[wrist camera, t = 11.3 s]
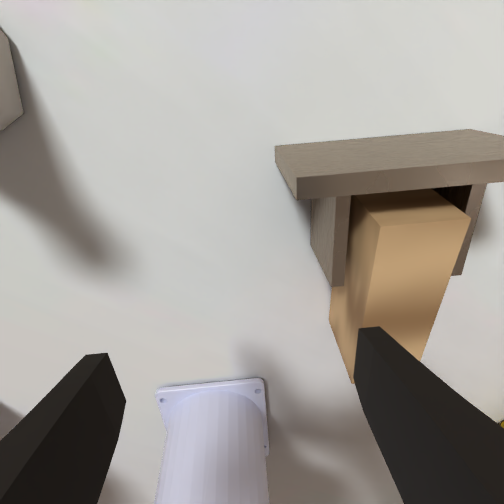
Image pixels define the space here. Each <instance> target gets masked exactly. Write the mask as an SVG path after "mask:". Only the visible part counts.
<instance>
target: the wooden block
mask: <svg viewBox="0 0 504 504" xmlns="http://www.w3.org/2000/svg"><path fill="white" fill-rule="evenodd" d="M470 221H471V218H470V217H469V216H468V215H466V214H465V213H463V212H462V211H461V210H459V209H458V208H457V207H455V206H454V205H453V204H451V203H450V202H449V201H447V200H446V199H445V198H443V197H442V196H441V195H439V194H438V193H436V192H435V191H434V190H432V189H431V188H427V189H416V190H405V191H394V192H383V193H372V194H361V195H351V201H350V214H349V227H348V240H347V253H346V266H345V279H344V286H339V287H332V292H331V302H330V313H329V322H330V325H331V328H332V331H333V333H334V336H335V339H336V342H337V344H338V347H339V350H340V353H341V355H342V358H343V361H344V364H345V367H346V369H347V372H348V375H349V378H350V380H351V383H352V384H355V382H354V379H353V374H354V365H355V356H356V347H357V338H358V329H359V328H367V327H377V326H380V327H381V328H382V329H383V330H384V331H386V332H387V333H388V334H389V335H390V336H391V337H392V338H394V339H395V340H396V341H397V342H398V343H399V344H400V345H401V346H403V347H404V348H405V349H406V350H407V351H408V352H409V353H411V354H412V355H413V356H414V357H415V358H416V359H417V360H419V361H420V360H421V357H422V354H423V351H424V349H425V346H426V343H427V340H428V338H429V335H430V332H431V329H432V326H433V324H434V321H435V318H436V315H437V313H438V310H439V307H440V304H441V301H442V299H443V296H444V293H445V290H446V288H447V285H448V282H449V279H450V277H451V274H452V271H453V268H454V265H455V263H456V260H457V257H458V254H459V252H460V249H461V246H462V243H463V240H464V238H465V235H466V232H467V229H468V227H469V224H470Z"/></svg>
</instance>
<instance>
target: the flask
mask: <svg viewBox="0 0 504 504" xmlns="http://www.w3.org/2000/svg"><path fill="white" fill-rule="evenodd" d="M22 114H24V113H23V108H22V103H21V98H20V94H19V89H18V84H17V79H16V74H15V70H14V65H13V60H12V55H11V51H10V46H9V41H8V38H7V37H6V36H5V34H4V33H3V32H2V31H1V30H0V132H1V131H2V130H3V129H5V128H6V127H7V126H8V125H10V124H11V123H12V122H13V121H15V120H16V119H17V118H19V117H20V116H21V115H22Z"/></svg>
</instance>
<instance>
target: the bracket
mask: <svg viewBox="0 0 504 504" xmlns="http://www.w3.org/2000/svg"><path fill="white" fill-rule="evenodd" d="M275 162H276V164H277V166H278V168H279V170H280V171H281V173H282V175H283V177H284V179H285V180H286V182H287V184H288V186H289V187H290V189H291V191H292V193H293V195H294V196H295V198H296V200H305V199H311V247H312V249H313V251H314V253H315V255H316V257H317V259H318V261H319V263H320V265H321V267H322V269H323V271H324V273H325V275H326V277H327V279H328V282H329V284H330V286H331V287H339V286H344V279H345V266H346V253H347V240H348V227H349V214H350V201H351V195H361V194H372V193H383V192H394V191H405V190H416V189H427V188H431V189H432V190H434V191H435V192H436V193H438V194H439V195H441V196H442V197H443V198H445V199H446V200H447V201H449V202H450V203H451V204H453V205H454V206H455V207H457V208H458V209H459V210H461V211H462V212H463V213H465V214H466V215H468V216H469V217H470V218H471V221H470V224H469V227H468V229H467V232H466V235H465V238H464V240H463V243H462V246H461V249H460V252H459V254H458V257H457V260H456V263H455V265H454V268H453V271H452V274H451V276H455V275H461V274H462V271H463V267H464V263H465V260H466V256H467V253H468V249H469V246H470V242H471V239H472V235H473V231H474V228H475V224H476V221H477V217H478V214H479V210H480V206H481V203H482V199H483V196H484V192H485V189H486V185H487V183H494V182H504V136H502V135H497V134H492V133H487V132H482V131H477V130H472V129H466V130H454V131H443V132H431V133H419V134H408V135H396V136H385V137H373V138H362V139H350V140H338V141H327V142H315V143H304V144H292V145H281V146H275Z"/></svg>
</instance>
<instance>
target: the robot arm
mask: <svg viewBox="0 0 504 504" xmlns="http://www.w3.org/2000/svg"><path fill="white" fill-rule="evenodd" d="M353 379H354V382H355V386H356V389H357V392H358V395H359V399H360V402H361V405H362V408H363V411H364V414H365V416H366V418H367V421H368V423H369V425H370V428H371V430H372V432H373V434H374V437H375V439H376V441H377V443H378V446H379V448H380V450H381V452H382V455H383V457H384V459H385V461H386V464H387V466H388V468H389V470H390V473H391V475H392V477H393V479H394V482H395V484H396V486H397V488H398V491H399V493H400V495H401V497H402V500H403V502H404V504H504V428H503V427H501V426H500V425H499V424H497V423H496V422H495V421H493V420H492V419H491V418H489V417H488V416H487V415H485V414H484V413H483V412H481V411H480V410H479V409H477V408H476V407H475V406H473V405H472V404H471V403H469V402H468V401H467V400H466V399H464V398H463V397H462V396H461V395H459V394H458V393H457V392H456V391H454V390H453V389H452V388H451V387H449V386H448V385H447V384H446V383H445V382H443V381H442V380H441V379H440V378H439V377H437V376H436V375H435V374H434V373H433V372H431V371H430V370H429V369H428V368H427V367H426V366H424V365H423V364H422V363H421V362H420V361H419V360H417V359H416V358H415V357H414V356H413V355H412V354H411V353H409V352H408V351H407V350H406V349H405V348H404V347H403V346H401V345H400V344H399V343H398V342H397V341H396V340H395V339H394V338H392V337H391V336H390V335H389V334H388V333H387V332H386V331H384V330H383V329H382V328H381V327H380V326H377V327H367V328H359V329H358V338H357V347H356V356H355V365H354V374H353ZM155 397H156V400H157V403H158V406H159V409H160V412H161V416H162V419H163V422H164V425H165V428H166V431H167V434H166V440H165V445H164V451H163V456H162V462H161V467H160V473H159V478H158V484H157V489H156V495H155V501H154V504H270V501H269V490H268V480H267V469H266V458H265V457H266V456H268V455H269V453H270V452H269V439H268V427H267V414H266V402H265V389H264V381H263V380H262V379H260V378H252V379H242V380H232V381H222V382H212V383H202V384H192V385H182V386H172V387H162V388H159V389H157V390H156V394H155ZM125 404H126V399H125V396H124V394H123V391H122V389H121V386H120V384H119V381H118V379H117V376H116V374H115V371H114V368H113V366H112V363H111V361H110V358H109V356H108V353H100V354H90V355H85V356H84V357H83V358H82V359H81V360H80V361H79V362H78V363H77V364H76V365H75V366H74V367H73V368H72V369H71V370H70V371H69V372H68V373H67V374H66V375H65V376H64V377H63V379H62V380H61V381H60V382H59V383H58V384H57V385H56V386H55V387H54V388H53V389H52V390H51V391H50V392H49V393H48V394H47V395H46V396H45V397H44V398H43V399H42V400H41V401H40V402H39V403H38V404H37V405H36V406H35V407H34V408H33V409H32V410H31V411H30V412H29V413H28V414H27V415H26V416H25V417H24V418H23V419H22V420H21V421H20V422H19V423H18V424H17V425H16V426H15V427H14V428H13V429H12V430H11V431H10V432H9V433H8V434H7V435H6V436H5V437H4V438H3V439H2V440H1V441H0V504H97V502H98V499H99V496H100V493H101V490H102V487H103V484H104V481H105V478H106V475H107V472H108V469H109V466H110V463H111V460H112V457H113V454H114V451H115V448H116V444H117V441H118V438H119V433H120V429H121V424H122V419H123V414H124V409H125Z"/></svg>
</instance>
